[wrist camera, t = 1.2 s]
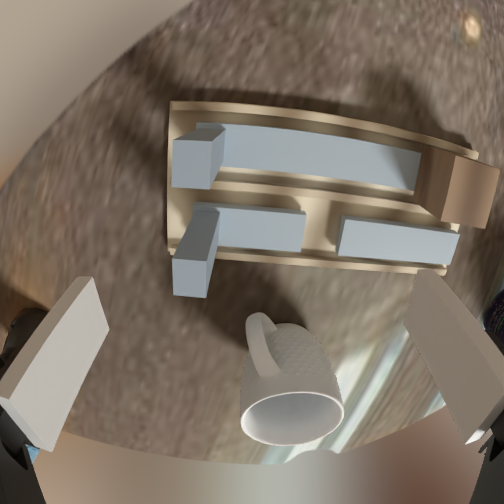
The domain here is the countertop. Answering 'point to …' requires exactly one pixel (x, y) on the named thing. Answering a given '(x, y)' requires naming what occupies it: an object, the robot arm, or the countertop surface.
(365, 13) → the countertop surface
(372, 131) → the lane board
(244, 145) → the strip
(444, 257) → the broken strip
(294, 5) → the countertop surface
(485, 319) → the storage jar
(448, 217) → the walnut block
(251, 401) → the mug
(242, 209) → the broken strip
